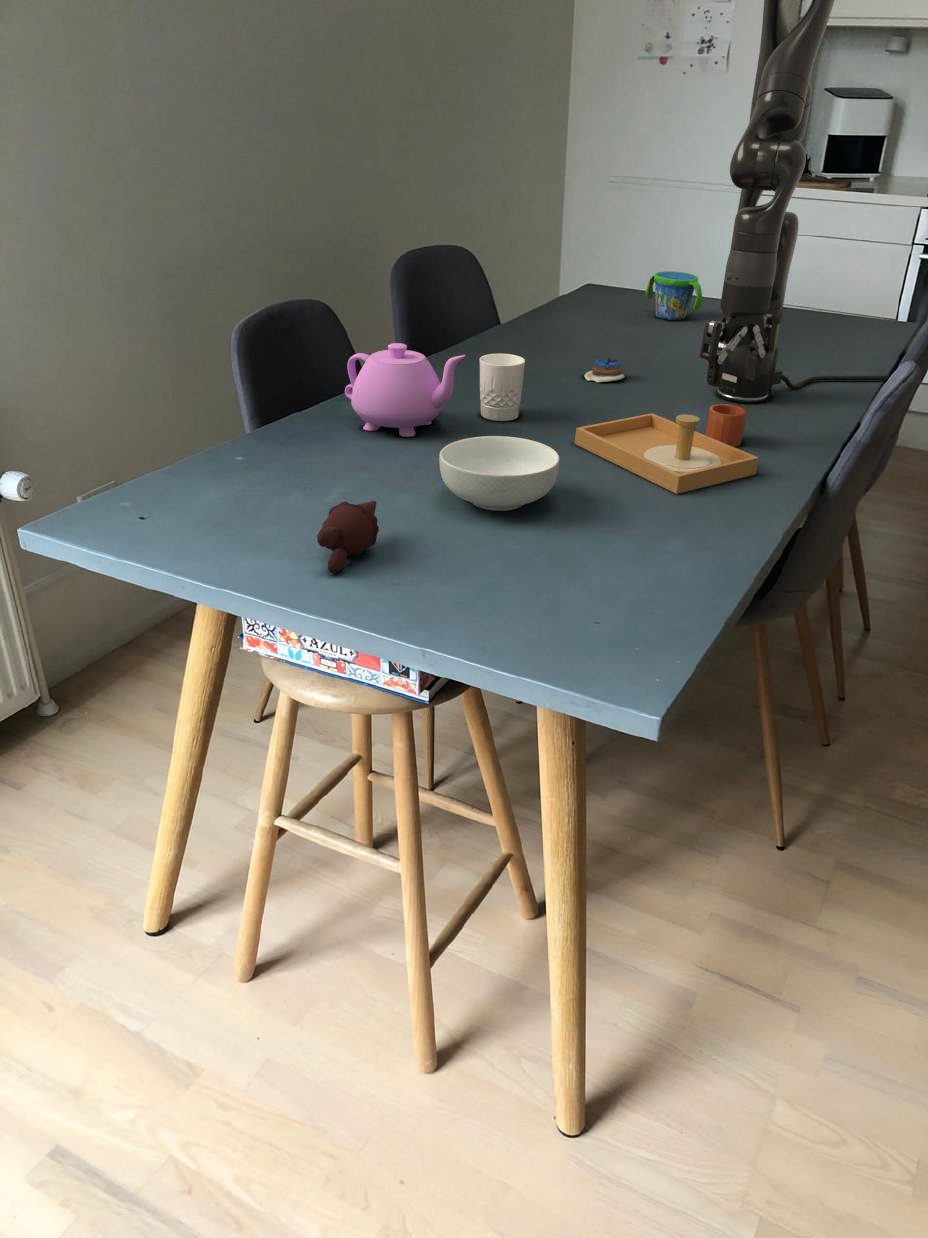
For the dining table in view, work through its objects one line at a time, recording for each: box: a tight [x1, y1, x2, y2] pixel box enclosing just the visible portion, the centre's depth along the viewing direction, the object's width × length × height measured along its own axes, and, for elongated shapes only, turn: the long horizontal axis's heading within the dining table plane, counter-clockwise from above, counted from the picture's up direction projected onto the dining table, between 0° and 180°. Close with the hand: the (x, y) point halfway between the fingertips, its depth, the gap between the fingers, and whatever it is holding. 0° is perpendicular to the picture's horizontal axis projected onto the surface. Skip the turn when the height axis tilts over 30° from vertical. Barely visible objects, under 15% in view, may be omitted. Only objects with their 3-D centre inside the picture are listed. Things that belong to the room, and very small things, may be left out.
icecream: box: [316, 500, 380, 574], centre depth 127 cm, size 7×7×15 cm
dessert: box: [584, 357, 626, 383], centre depth 200 cm, size 8×7×6 cm
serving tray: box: [574, 412, 759, 495], centre depth 161 cm, size 17×25×3 cm
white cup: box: [479, 353, 526, 422], centre depth 176 cm, size 8×8×10 cm
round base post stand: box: [644, 413, 721, 474], centre depth 156 cm, size 12×12×7 cm
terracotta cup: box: [705, 403, 747, 448], centre depth 168 cm, size 6×6×6 cm
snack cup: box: [645, 270, 703, 321], centre depth 246 cm, size 16×10×10 cm
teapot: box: [344, 342, 466, 438], centre depth 168 cm, size 22×16×14 cm
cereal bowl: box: [438, 435, 561, 512], centre depth 143 cm, size 17×17×7 cm
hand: (732, 382), depth 164 cm, fingers open, 8 cm apart
